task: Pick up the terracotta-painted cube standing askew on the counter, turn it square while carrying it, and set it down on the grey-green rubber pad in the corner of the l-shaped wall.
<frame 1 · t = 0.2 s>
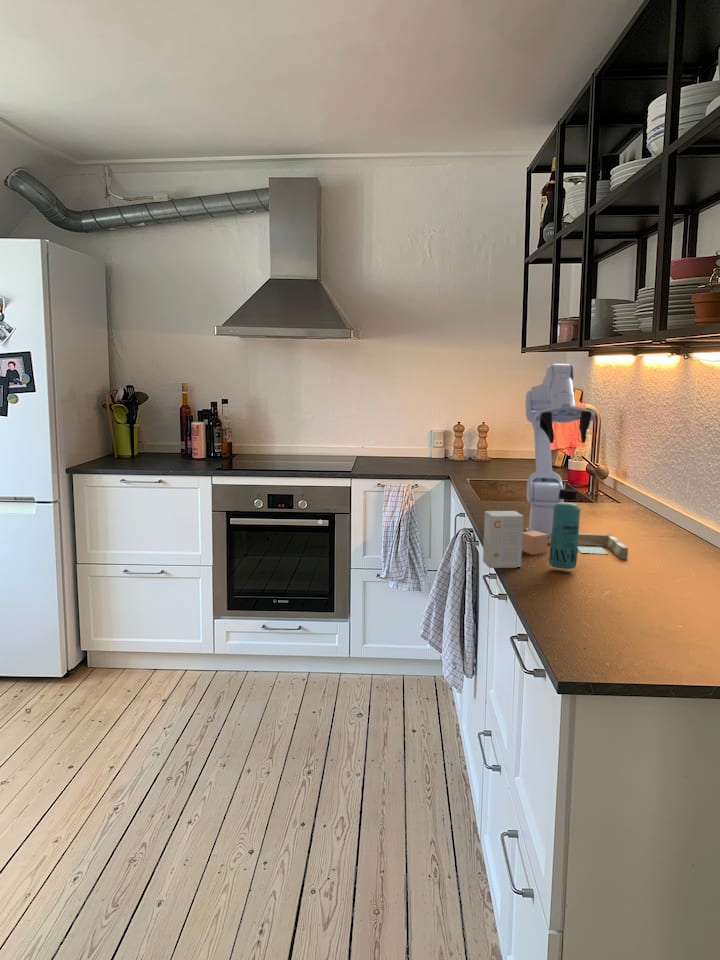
hand: (567, 440, 178), 31 cm above the countertop, tool tilted 45°, fingers open, 7 cm apart
small box: (501, 565, 177), on the countertop
cube: (532, 551, 191), on the countertop
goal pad: (591, 550, 192), on the countertop
l-shaped wall: (586, 550, 192), on the countertop
beverage bottle: (562, 572, 173), on the countertop
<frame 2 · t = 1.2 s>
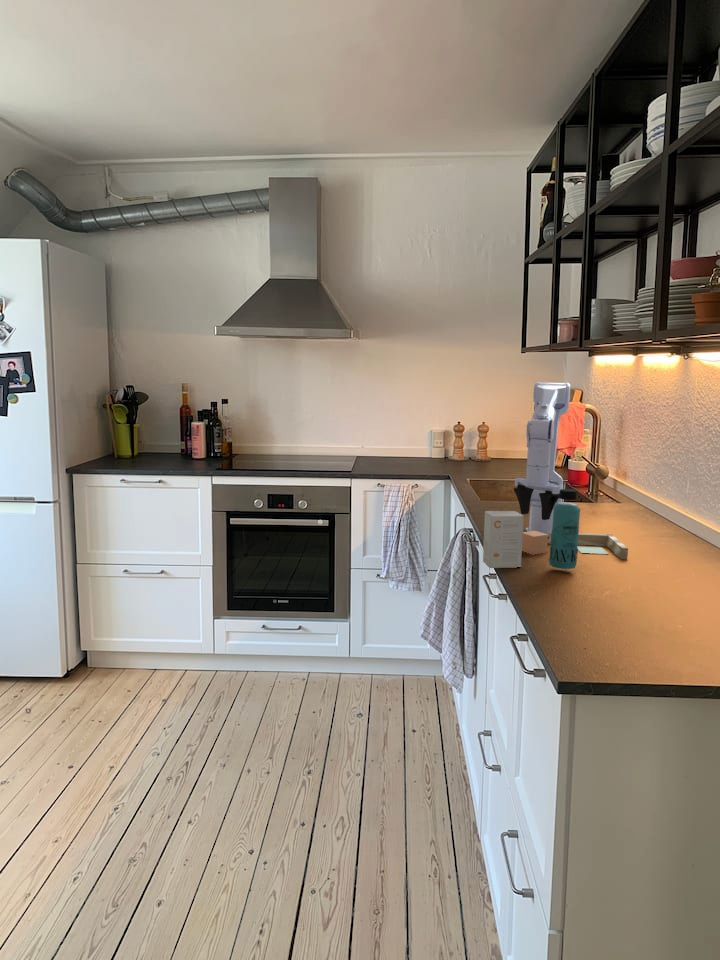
hand: (535, 516, 189), 9 cm above the countertop, tool pointing down, fingers open, 7 cm apart
nothing on the countertop moved.
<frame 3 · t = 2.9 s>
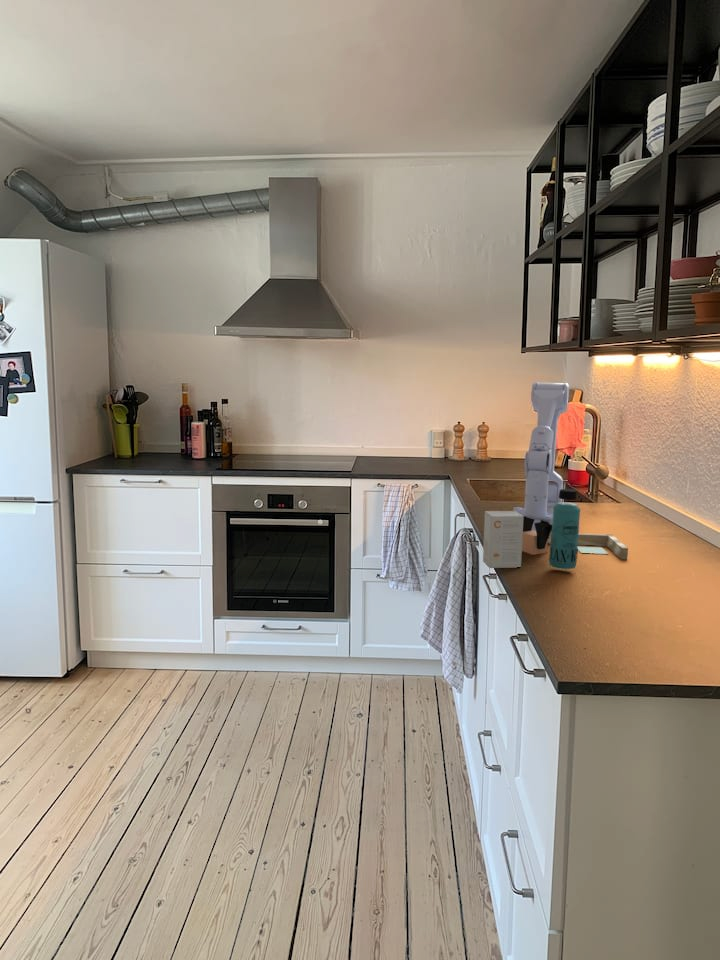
hand: (533, 546, 190), 1 cm above the countertop, tool pointing down, fingers closed on cube, 5 cm apart
cube: (532, 551, 191), on the countertop, touching gripper
everything else where it was.
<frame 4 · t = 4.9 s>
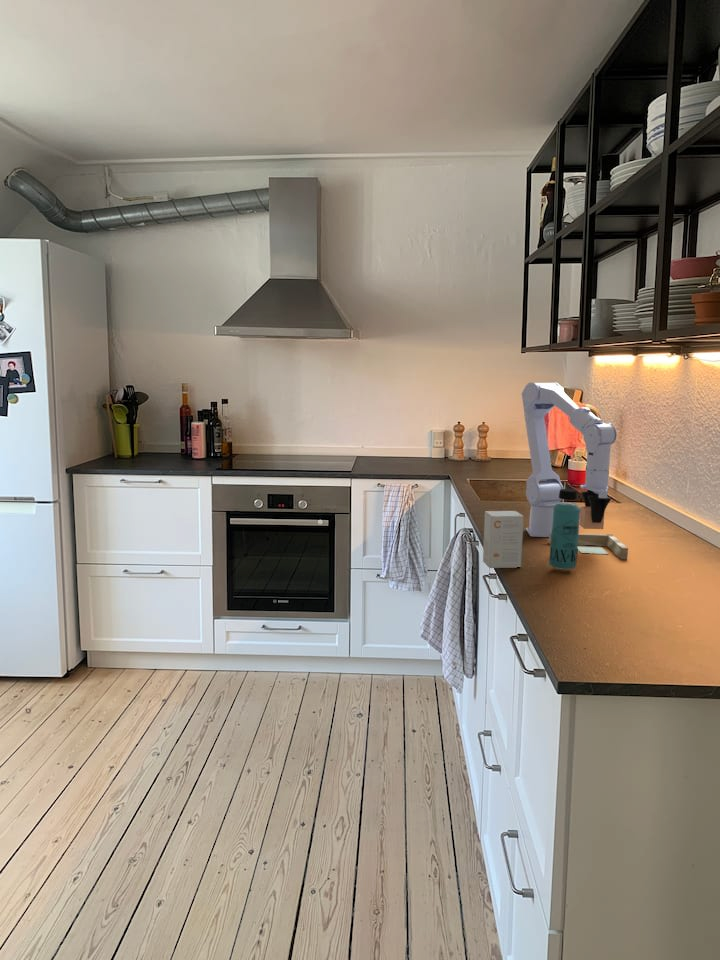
hand: (593, 520, 191), 8 cm above the countertop, tool pointing down, fingers closed on cube, 5 cm apart
cube: (591, 526, 191), point 7 cm above the countertop, touching gripper
everything else where it was.
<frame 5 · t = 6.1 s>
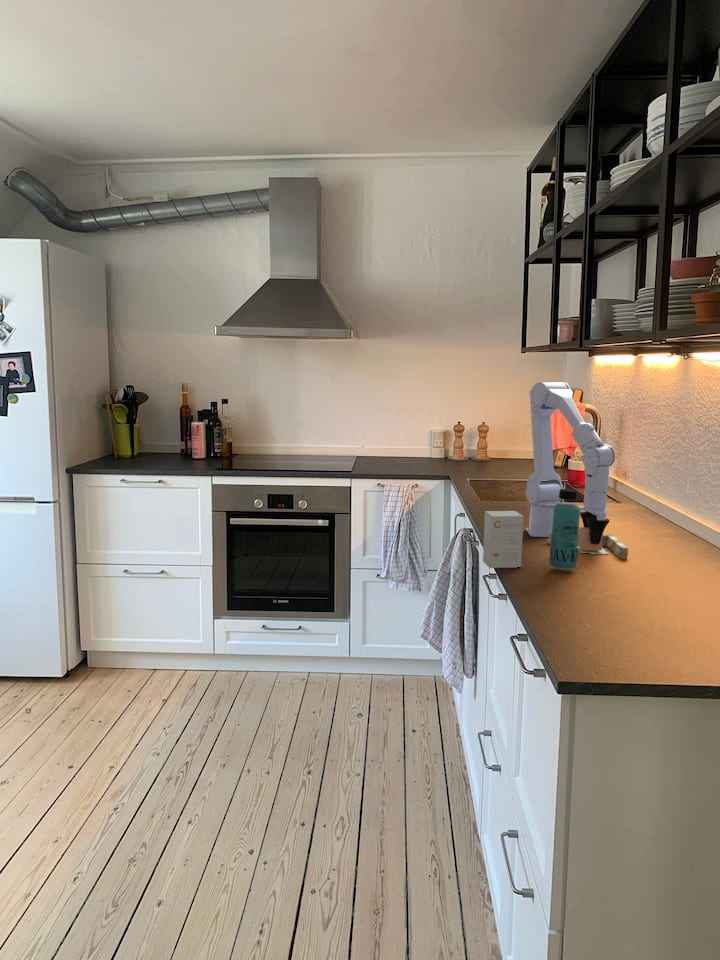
hand: (592, 541, 192), 3 cm above the countertop, tool pointing down, fingers closed on cube, 5 cm apart
cube: (589, 547, 192), point 1 cm above the countertop, touching gripper
everything else where it was.
when the fingers open (3 cm above the countertop, at t = 6.8 s): cube stays where it is, resting on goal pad.
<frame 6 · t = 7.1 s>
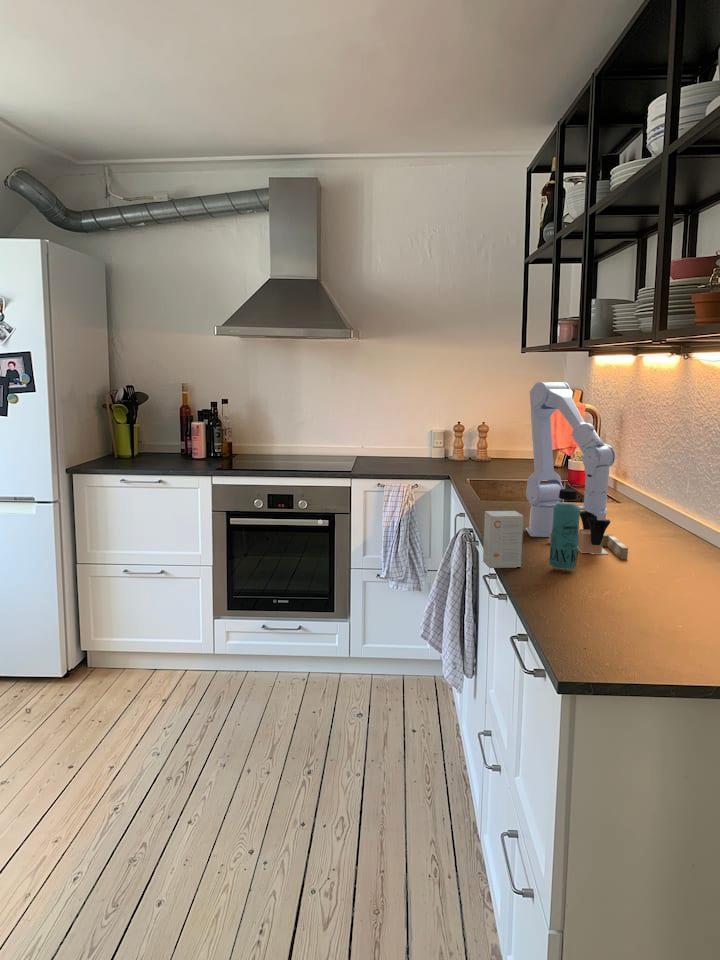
hand: (592, 541, 192), 3 cm above the countertop, tool pointing down, fingers open, 7 cm apart
cube: (589, 549, 192), resting on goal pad
everything else where it was.
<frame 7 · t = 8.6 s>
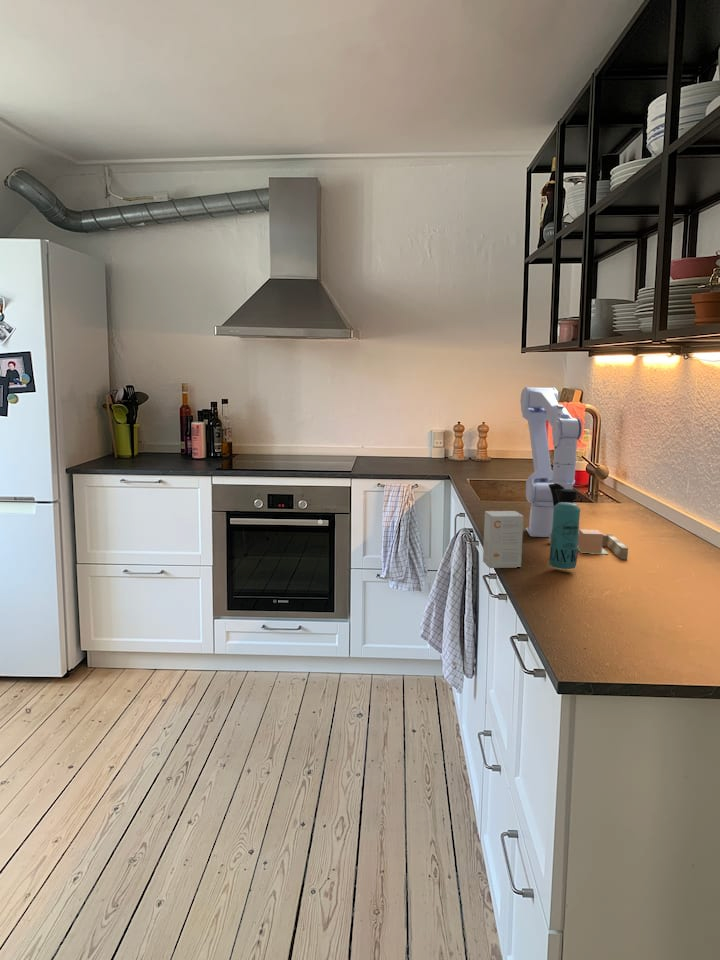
hand: (561, 513, 194), 9 cm above the countertop, tool pointing down, fingers open, 7 cm apart
nothing on the countertop moved.
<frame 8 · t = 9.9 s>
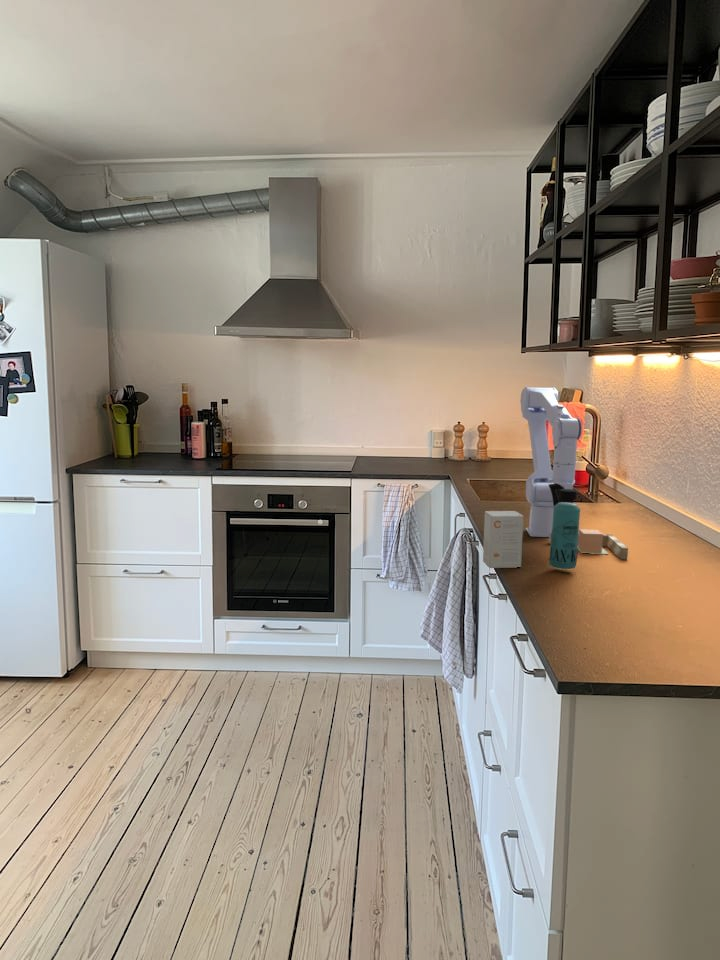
hand: (561, 513, 194), 9 cm above the countertop, tool pointing down, fingers open, 7 cm apart
nothing on the countertop moved.
at the end: cube inside the target area (0.5 cm from its centre), resting on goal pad; cube tilted 0°; the gripper is holding nothing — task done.
